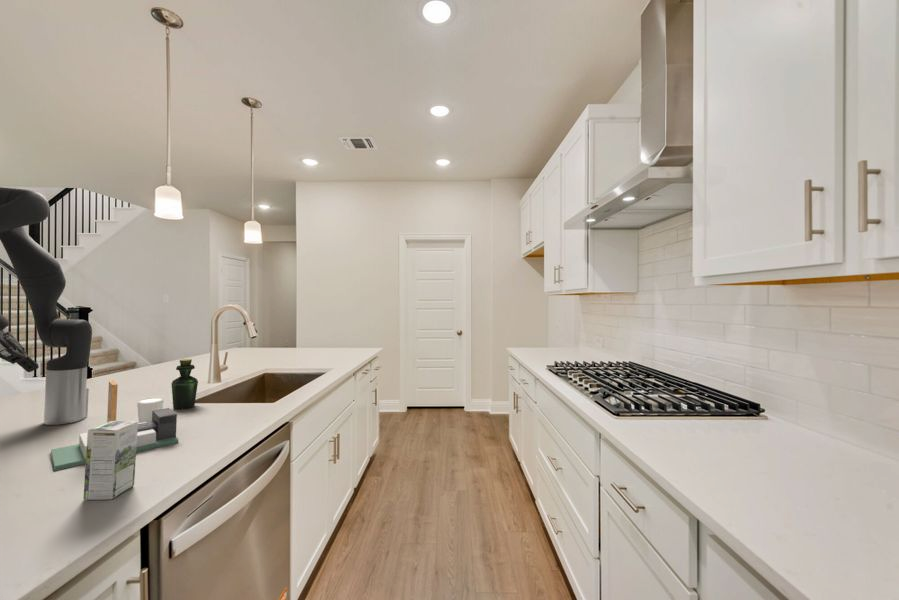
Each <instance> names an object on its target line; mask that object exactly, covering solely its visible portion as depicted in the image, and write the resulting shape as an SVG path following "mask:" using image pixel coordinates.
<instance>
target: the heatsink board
mask: <svg viewBox="0 0 899 600" xmlns="http://www.w3.org/2000/svg"><path fill="white" fill-rule="evenodd" d="M177 419H178V414H177V413H176V412H175V411H173V410H172V409H171V408H170V407H168V408H167V407H166V408H162V409H160V410H154V411H152V422H153V421H156V422H157V423H158V427H153V428H147V429H142V430H137V446H136V453H138V452H143V451H146V450H151V449H155V448H156V449H157V448H160V447H165V446H169V445H174V444H178V443H179V438H178V437H177V423H178V422H177ZM143 423H147V422H143ZM138 424H142V423H139V422H138ZM87 436H88V432H83V433H79V443H77V444H74V445H73V444H72V445H67V446H62V447H56V448H53V449H52V448H51V450H50V453H51V455H50V456H51V460H52V463H53V464H52V465H53V469H54V471H58V470H59V471H60V470H63V469H68V468H72V467H76V466H81V465H86V452H87Z"/></svg>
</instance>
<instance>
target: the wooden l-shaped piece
mask: <svg viewBox="0 0 899 600" xmlns="http://www.w3.org/2000/svg"><path fill="white" fill-rule="evenodd" d="M107 394H108V395H107V419H106V423H108V422H111V421H117V409H118V408H117V407H118V406H117V404H118V383H117V382H115V380H109V381H108V393H107ZM153 427H158V423H157V422H156V421H153V422H147V423H142V424H138V430H142V429H147V428H153Z"/></svg>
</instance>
